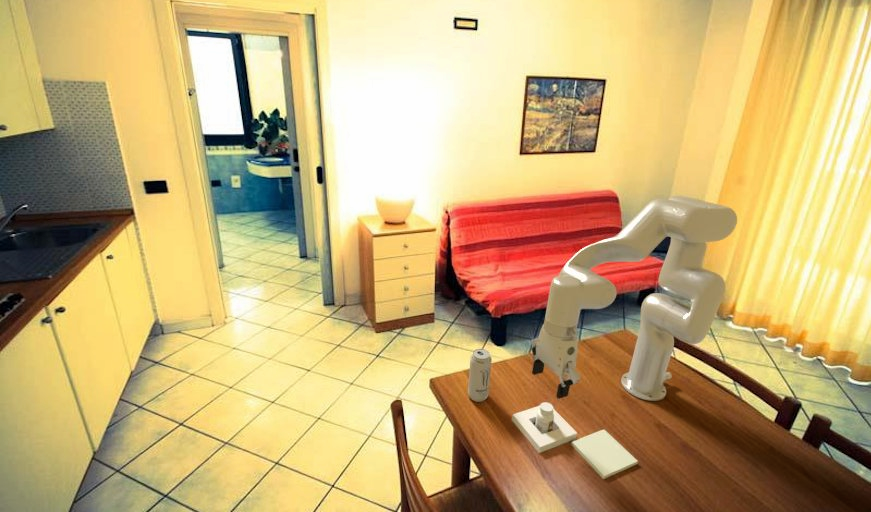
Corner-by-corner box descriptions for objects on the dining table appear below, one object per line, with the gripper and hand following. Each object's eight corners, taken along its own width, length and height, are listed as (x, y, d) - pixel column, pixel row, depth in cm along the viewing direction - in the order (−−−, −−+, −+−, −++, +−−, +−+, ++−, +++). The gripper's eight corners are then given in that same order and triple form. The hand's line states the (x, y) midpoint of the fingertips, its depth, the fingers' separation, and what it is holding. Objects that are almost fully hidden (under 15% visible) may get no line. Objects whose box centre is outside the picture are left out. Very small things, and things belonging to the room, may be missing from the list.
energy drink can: (478, 406, 117) (482, 363, 111) (463, 395, 121) (466, 352, 115) (492, 397, 121) (496, 354, 115) (477, 386, 125) (480, 345, 119)
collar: (546, 408, 117) (547, 402, 116) (576, 438, 107) (577, 433, 106) (511, 420, 112) (512, 414, 111) (538, 453, 102) (539, 447, 101)
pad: (603, 432, 109) (603, 429, 109) (636, 464, 100) (637, 461, 100) (571, 444, 105) (571, 441, 105) (603, 479, 96) (604, 476, 95)
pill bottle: (552, 437, 107) (556, 414, 104) (535, 434, 108) (538, 411, 105) (551, 424, 111) (555, 402, 108) (534, 421, 112) (538, 399, 109)
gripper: (598, 342, 92) (584, 403, 98) (549, 307, 106) (539, 362, 112) (572, 348, 89) (560, 411, 95) (525, 312, 103) (517, 367, 109)
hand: (549, 384), depth 104 cm, fingers open, 9 cm apart
